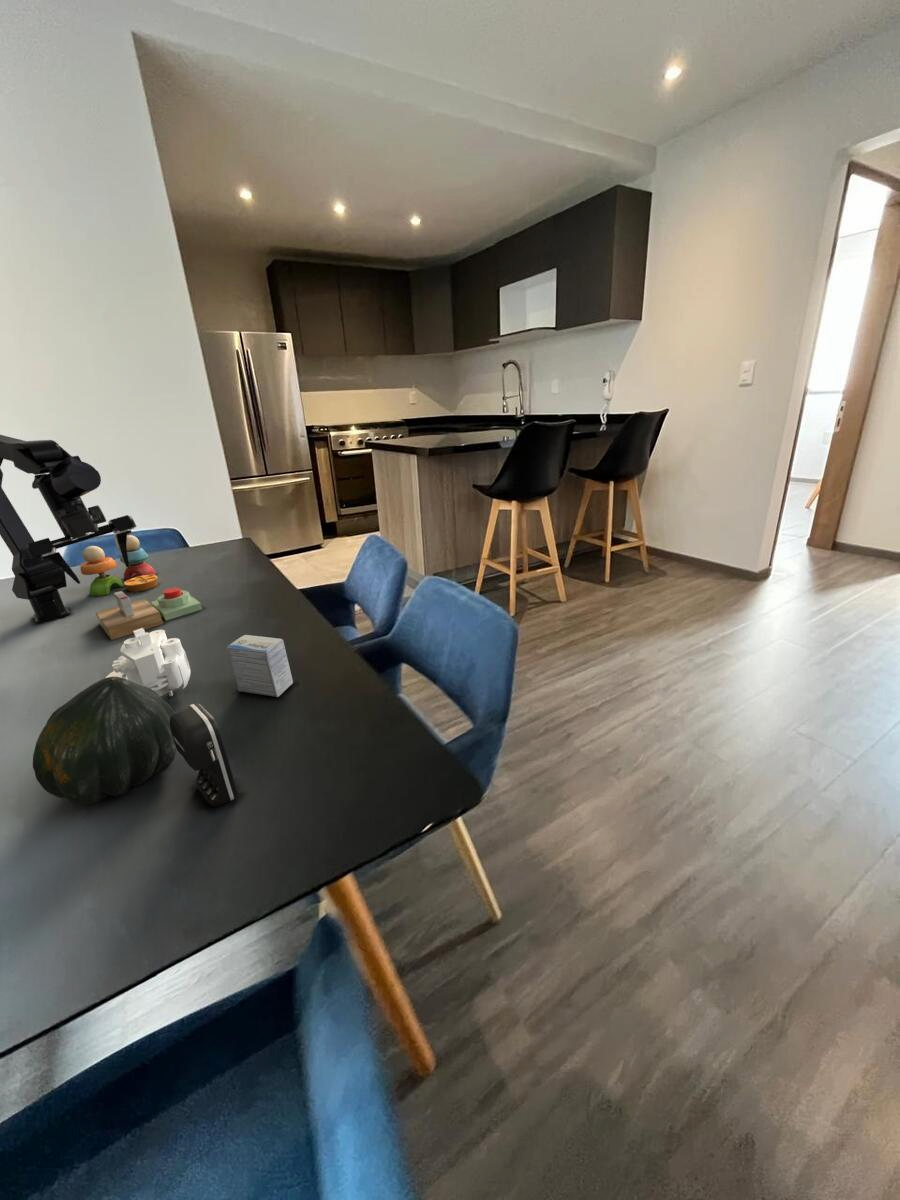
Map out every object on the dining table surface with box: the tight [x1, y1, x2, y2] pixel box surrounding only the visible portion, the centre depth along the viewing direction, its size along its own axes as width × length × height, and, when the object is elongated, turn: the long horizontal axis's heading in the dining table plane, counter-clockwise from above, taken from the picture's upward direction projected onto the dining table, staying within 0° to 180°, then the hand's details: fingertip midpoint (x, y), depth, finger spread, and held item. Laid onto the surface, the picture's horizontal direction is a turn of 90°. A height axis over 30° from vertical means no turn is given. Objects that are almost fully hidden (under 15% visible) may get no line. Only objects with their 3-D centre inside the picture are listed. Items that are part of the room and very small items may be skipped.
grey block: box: [113, 590, 134, 617], centre depth 108 cm, size 6×2×4 cm, turn 44°
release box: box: [150, 589, 203, 621], centre depth 117 cm, size 11×8×4 cm
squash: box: [32, 677, 177, 806], centre depth 62 cm, size 14×15×15 cm
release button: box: [162, 587, 182, 599], centre depth 116 cm, size 4×4×2 cm
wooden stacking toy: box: [80, 534, 158, 597], centre depth 135 cm, size 18×17×12 cm
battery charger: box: [170, 702, 239, 808], centre depth 58 cm, size 7×4×11 cm, turn 45°
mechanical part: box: [105, 628, 191, 698], centre depth 78 cm, size 11×12×12 cm
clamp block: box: [95, 598, 164, 641], centre depth 110 cm, size 12×11×3 cm
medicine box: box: [226, 634, 294, 698], centre depth 80 cm, size 8×4×9 cm, turn 71°
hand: (104, 575), depth 103 cm, fingers open, 9 cm apart
